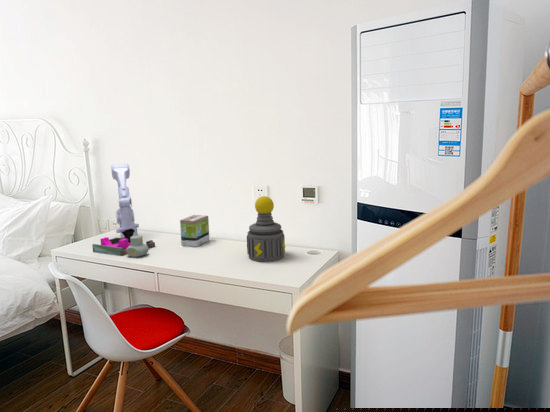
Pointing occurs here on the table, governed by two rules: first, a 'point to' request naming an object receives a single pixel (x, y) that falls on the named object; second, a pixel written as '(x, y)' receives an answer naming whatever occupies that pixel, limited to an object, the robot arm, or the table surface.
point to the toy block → (122, 243)
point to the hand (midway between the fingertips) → (129, 242)
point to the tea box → (194, 230)
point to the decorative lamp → (265, 234)
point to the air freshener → (137, 247)
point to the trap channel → (116, 250)
